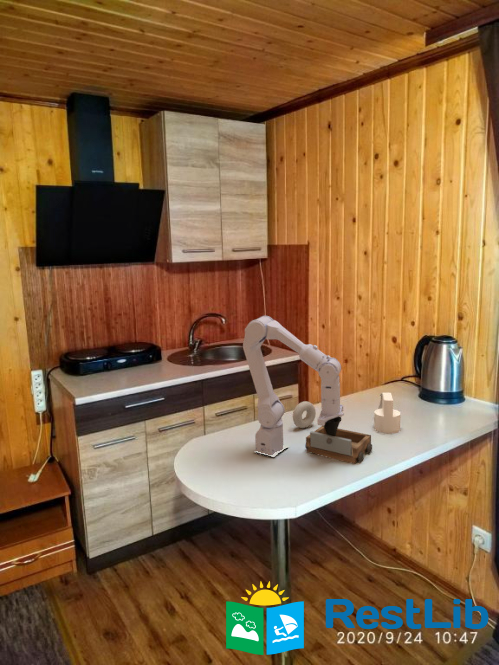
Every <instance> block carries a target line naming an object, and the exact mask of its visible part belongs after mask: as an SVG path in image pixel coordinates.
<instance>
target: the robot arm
mask: <svg viewBox="0 0 499 665" xmlns="http://www.w3.org/2000/svg"><path fill="white" fill-rule="evenodd" d="M266 340H278V341H280V342H281V343H282V344H284V345H286V346H287V347H289V349H291V350H293V352H294V351H295V353H298V355H299V356H298V357H299V359H300V360H301V361H302V362H304V363H305V364H306V365H307V366H309V367H310V368H311V369H313V370H315V371H316V372H318V376H319V377H320V380H321V381H320V390H321V391H320V393H321V394H320V396H321V397H320V398H321V401H320V402H321V407H320V408H321V410H320V413H319V416H318V418H317V420H316V421H317V425H318V426H320V427H321V426H324V427H325V430H326V433H327V435H330V436H336V433H337V429H339V425H340V424H341V421H342V417H343V416H344V415H345V413H344V412H343V411H344V405H343V404H341V383H340V381H341V380H340V373H341V372H342V364H341V362H340V361H339V360H338V359H337V358H335V357H331V356H330V355H329V354H325V353H324V352H322V351H321V350H320V349H319V346H317V345H316V344H314V345H313V344H311V343H309V344H305V343H304V342H302V341H301V340H300V339H298V337H296V336H295V335H294V334H293V333H291V332H290V331H289V330H288V329H287V328H285V327H284V326H282V324H281V323H280V322H278V321H277V320H275V319H273V318H272V317H271V316H268V315H262V316H259V317H258V318H256V319H253V320H251V321H249V323H248V324H247V325H246V327H245V328H244V338H243V344H242V348H243V352H244V355H245V358H246V361H247V365H248V368H249V371H250V372H249V373H250V375H251V378H252V381H253V385H254V389H255V391H256V395H257V398H258V401H257V406H256V407H257V412H258V414H257V419H258V423H259V424H260V426H259V429H258V430H257V431H256V433H255V436H254V437H255V440H254V441H255V450H256V451H258V452H261V453H265V454H268V455H273V454H274V453H275V452H277V451H280V450H282V449H283V445H284V421H283V418H282V417H283V416H284V415H285V413H286V412H285V411H286V410H285V406H284V404H283V403H282V402H281V401H280V398H279V396H278V395H277V394H276V393H275V392H274V389H273V385H272V382H271V378H270V375H269V372H268V369H267V366H266V362H265V359H264V354H263V353H262V349H261V347H262V346H263V344H264V342H265V341H266Z"/></svg>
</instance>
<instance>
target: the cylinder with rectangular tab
mask: <svg viewBox="0 0 499 665" xmlns="http://www.w3.org/2000/svg"><path fill="white" fill-rule="evenodd" d="M381 393H382V409H378V408H377V409H375V410H374V412H373V414H374V415H373V416H374V417H373V419H374V421H373V425H374V427H373V428H374V430H375V431H377V432H378V433H382V434H395V433H398V432H400V431H401V411H399V410H397V409H394V399H393V396H392V392H381Z"/></svg>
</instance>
